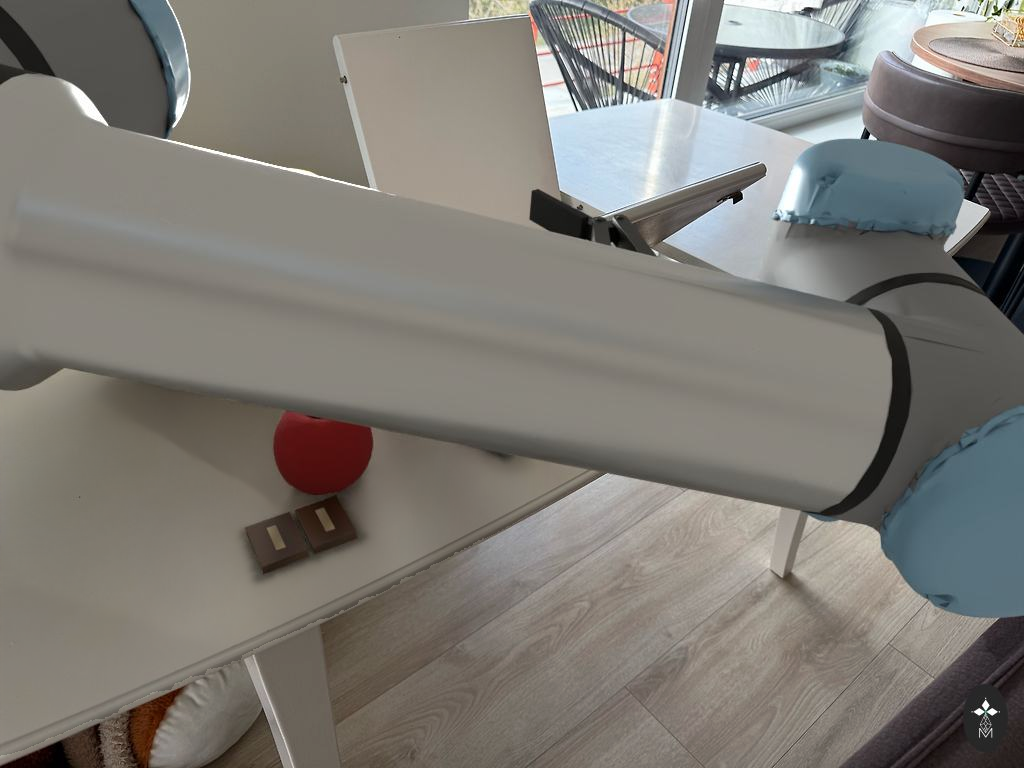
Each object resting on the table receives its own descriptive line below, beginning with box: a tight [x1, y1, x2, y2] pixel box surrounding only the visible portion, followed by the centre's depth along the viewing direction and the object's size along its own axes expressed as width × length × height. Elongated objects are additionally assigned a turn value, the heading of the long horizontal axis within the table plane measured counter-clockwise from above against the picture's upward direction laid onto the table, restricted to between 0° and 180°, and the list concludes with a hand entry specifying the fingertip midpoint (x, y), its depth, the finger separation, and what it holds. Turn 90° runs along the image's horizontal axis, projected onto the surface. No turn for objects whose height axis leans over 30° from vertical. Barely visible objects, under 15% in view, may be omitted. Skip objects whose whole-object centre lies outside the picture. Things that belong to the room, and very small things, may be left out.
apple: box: [272, 411, 374, 496], centre depth 68 cm, size 9×9×10 cm
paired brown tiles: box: [244, 494, 358, 575], centre depth 65 cm, size 8×5×1 cm, turn 121°
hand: (470, 221), depth 61 cm, fingers open, 13 cm apart
